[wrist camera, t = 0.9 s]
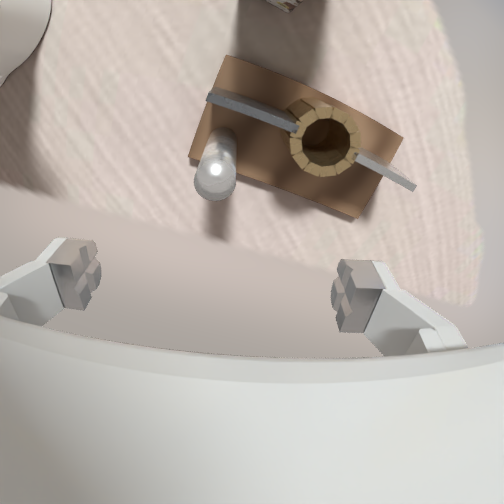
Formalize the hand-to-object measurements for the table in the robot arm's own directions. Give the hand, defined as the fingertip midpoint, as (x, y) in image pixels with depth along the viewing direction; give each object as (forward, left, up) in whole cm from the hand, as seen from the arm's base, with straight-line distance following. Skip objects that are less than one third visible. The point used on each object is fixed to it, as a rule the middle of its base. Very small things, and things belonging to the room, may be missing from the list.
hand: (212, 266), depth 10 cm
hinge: (+8, +3, -25) cm, 26 cm away
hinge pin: (0, -2, -25) cm, 25 cm away
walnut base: (+8, +1, -26) cm, 28 cm away
